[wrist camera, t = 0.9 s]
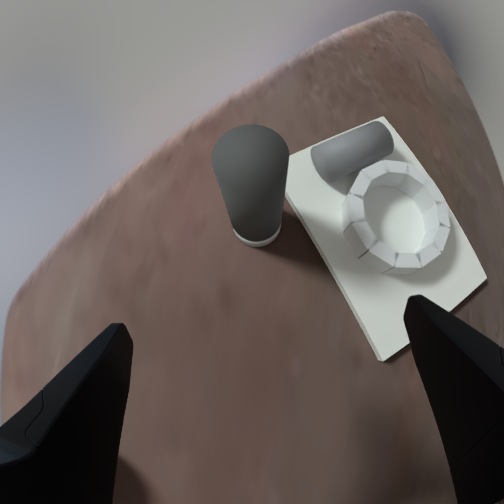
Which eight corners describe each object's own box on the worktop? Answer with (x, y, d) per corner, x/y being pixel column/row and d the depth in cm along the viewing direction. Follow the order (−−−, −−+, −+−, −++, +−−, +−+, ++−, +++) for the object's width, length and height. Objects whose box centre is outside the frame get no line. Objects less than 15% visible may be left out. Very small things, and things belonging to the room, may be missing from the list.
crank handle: (289, 233, 24) (303, 168, 14) (246, 255, 23) (233, 203, 14) (266, 194, 24) (265, 114, 15) (225, 215, 24) (199, 144, 14)
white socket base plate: (480, 279, 22) (508, 271, 18) (378, 360, 21) (399, 365, 17) (380, 122, 26) (393, 95, 22) (269, 171, 25) (269, 144, 21)
